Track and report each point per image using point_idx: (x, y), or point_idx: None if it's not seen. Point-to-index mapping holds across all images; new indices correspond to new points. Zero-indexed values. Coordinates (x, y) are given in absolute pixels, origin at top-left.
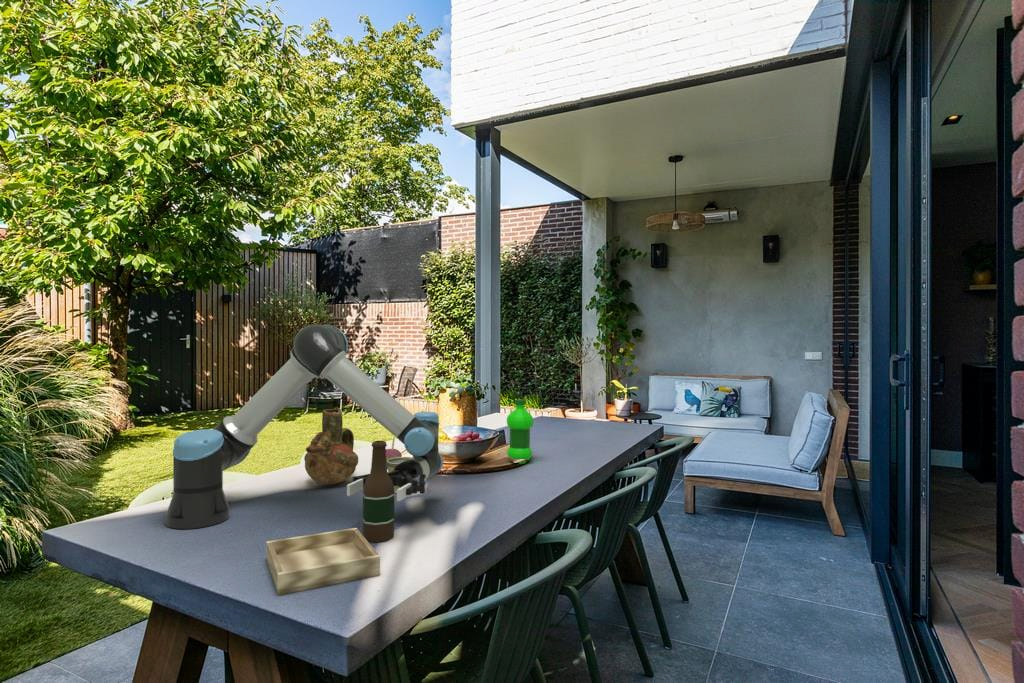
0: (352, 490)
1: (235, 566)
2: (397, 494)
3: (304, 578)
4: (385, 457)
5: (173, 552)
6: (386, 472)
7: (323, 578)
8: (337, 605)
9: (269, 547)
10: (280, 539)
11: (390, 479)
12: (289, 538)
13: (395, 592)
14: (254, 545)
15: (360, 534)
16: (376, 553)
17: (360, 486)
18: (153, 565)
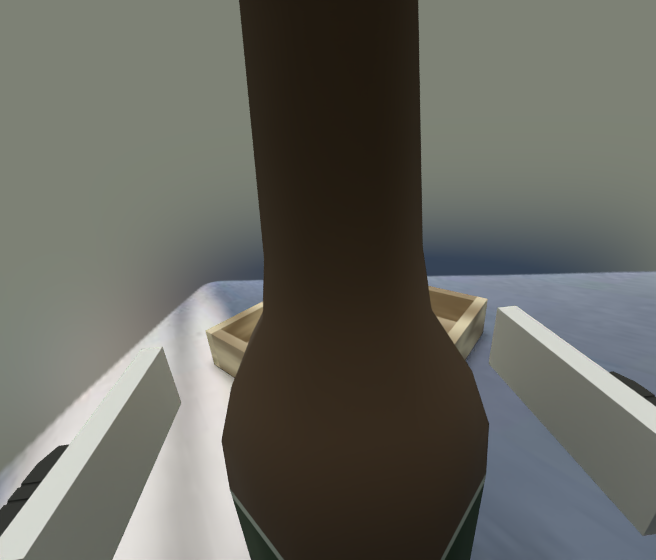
0: (513, 363)
1: (488, 306)
2: (167, 372)
3: None
4: (254, 128)
5: (653, 297)
6: (265, 295)
7: None
8: (244, 300)
9: (446, 290)
10: (477, 310)
11: (239, 368)
12: (468, 318)
13: (168, 338)
14: (610, 359)
15: None
16: (218, 335)
17: (602, 452)
18: (587, 277)
